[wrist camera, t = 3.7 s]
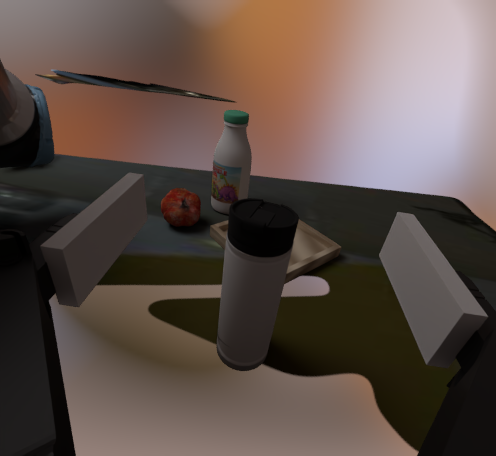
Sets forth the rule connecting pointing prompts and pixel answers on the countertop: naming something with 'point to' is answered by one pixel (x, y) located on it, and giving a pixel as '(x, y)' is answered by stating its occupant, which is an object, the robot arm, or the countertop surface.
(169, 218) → the pomegranate
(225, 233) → the wood tray
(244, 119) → the milk bottle
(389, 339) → the countertop surface
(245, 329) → the travel mug
